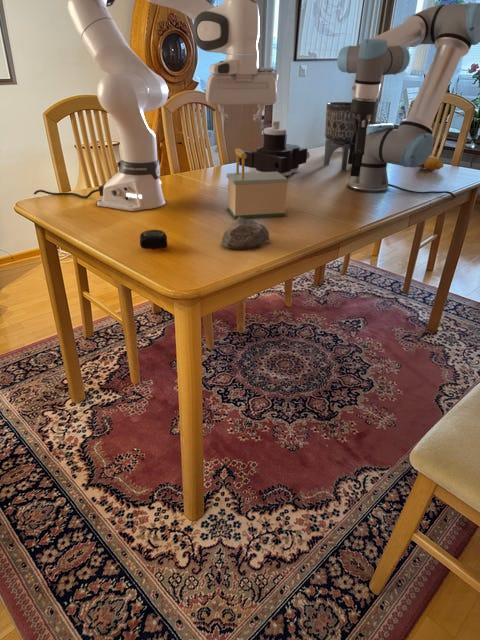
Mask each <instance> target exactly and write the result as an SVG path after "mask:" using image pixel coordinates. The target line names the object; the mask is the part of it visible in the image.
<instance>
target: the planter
mask: <svg viewBox="0 0 480 640" xmlns="http://www.w3.org/2000/svg"><path fill="white" fill-rule="evenodd" d="M351 103H352V101H333V102H327V103H326V109H325V124H324V125H325V126H324V139H325V144H324V156H323V157H324V158H323V165H325V166H328V165H330V163H331V158H332V156H333V154H334V153H335V151H336V149H338V148H340V147H342V151H341V152H342V153H341V166H340V170H341V172H345V171H347V167H348V166H347V165H348V158H349V152H350V145H351V144H352V143H351V136H352V131H353V126H354V119H355V117H356V114H354V113H352V112H351V111H350V110H351ZM371 116H372V115H367V120H368V125H370V121H371Z"/></svg>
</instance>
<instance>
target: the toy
mask: <svg viewBox="0 0 480 640" xmlns="http://www.w3.org/2000/svg"><path fill="white" fill-rule="evenodd" d="M444 165H445V164H444V163H443V162H441V161H439V159H438V158H437V157H435V156H433V155H430V156H429V158H428V159H427V160H426V162H425V163H424V164H422V165H420V166H419V167H418V168H421V169H425V170H427V171H429V172H434V171H438V170H440V169H443V167H444Z"/></svg>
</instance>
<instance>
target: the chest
mask: <svg viewBox="0 0 480 640" xmlns="http://www.w3.org/2000/svg"><path fill="white" fill-rule="evenodd" d="M227 185H228V186H227V189H228V190H227V194H228V195H227V197H228V198H227V210H228V211H229V213H230V214H231V216H232V217H233V219H234V220H237V218H238V217H242V218H245V219H258V218H275V217H286V206H287V205H286V204H287V191H288V181H287V182H286V183H262V184H237V185H234V184H233V183H232V182H231V181H230V180H229V179H228V178H227Z"/></svg>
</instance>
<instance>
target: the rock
mask: <svg viewBox="0 0 480 640" xmlns="http://www.w3.org/2000/svg"><path fill="white" fill-rule="evenodd" d="M269 241H270V233H269V230H268V229H267V228H266V226H265V225H263V224H261V223H259V222H256V221H255V220H252V219H249V218H242V217H238V218H237V219H235V221H234V222H233V223H232V224H231V225H229V226H228V227H227V228H226V229H225V231H224V233H223V236H222V239H221V244H222V247H224V248H229V249H231V250H245V249H254V248H257V247H259V246H260V245H264V244H266V242H269Z"/></svg>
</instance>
